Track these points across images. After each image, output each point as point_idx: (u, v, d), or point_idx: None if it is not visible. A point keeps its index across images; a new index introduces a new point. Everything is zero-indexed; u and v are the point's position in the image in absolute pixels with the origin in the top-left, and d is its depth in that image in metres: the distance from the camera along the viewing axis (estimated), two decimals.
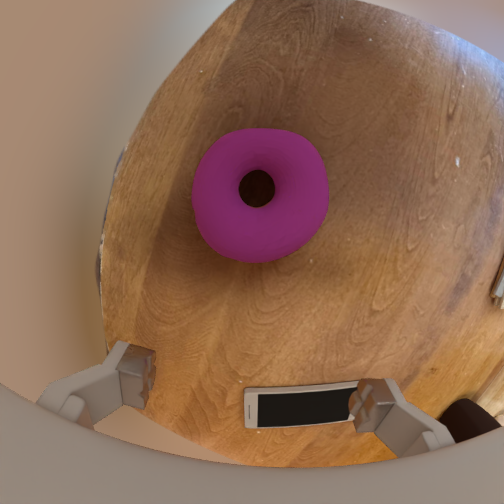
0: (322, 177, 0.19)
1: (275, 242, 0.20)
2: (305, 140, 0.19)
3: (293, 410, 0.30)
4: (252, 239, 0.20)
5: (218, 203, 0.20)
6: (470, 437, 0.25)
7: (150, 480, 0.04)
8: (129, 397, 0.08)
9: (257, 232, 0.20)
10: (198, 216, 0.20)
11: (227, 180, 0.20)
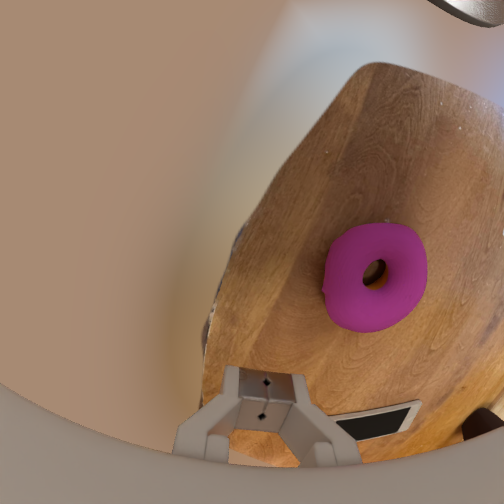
0: (426, 267, 0.22)
1: (389, 320, 0.23)
2: (416, 236, 0.22)
3: (359, 429, 0.33)
4: (374, 319, 0.23)
5: (352, 293, 0.22)
6: None
7: (150, 480, 0.04)
8: (243, 421, 0.08)
9: (378, 313, 0.23)
10: (332, 301, 0.23)
11: (360, 272, 0.22)
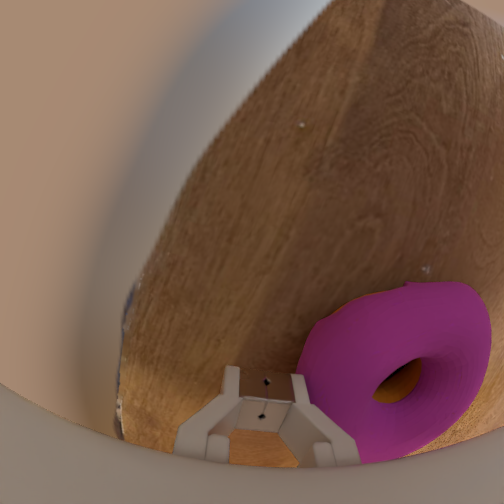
0: (488, 359, 0.09)
1: (410, 450, 0.10)
2: (483, 304, 0.09)
3: None
4: (383, 454, 0.10)
5: (348, 430, 0.09)
6: None
7: (150, 480, 0.04)
8: (244, 421, 0.08)
9: (392, 447, 0.10)
10: None
11: (367, 393, 0.09)
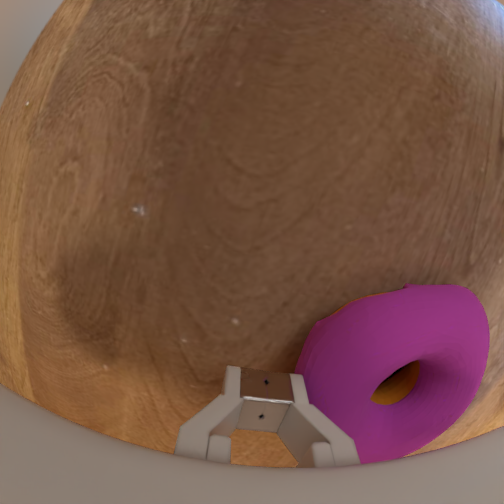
0: (485, 363, 0.09)
1: (407, 452, 0.10)
2: (482, 308, 0.09)
3: None
4: (380, 456, 0.10)
5: (345, 431, 0.09)
6: None
7: (150, 480, 0.04)
8: (245, 421, 0.08)
9: (389, 448, 0.10)
10: None
11: (365, 395, 0.09)
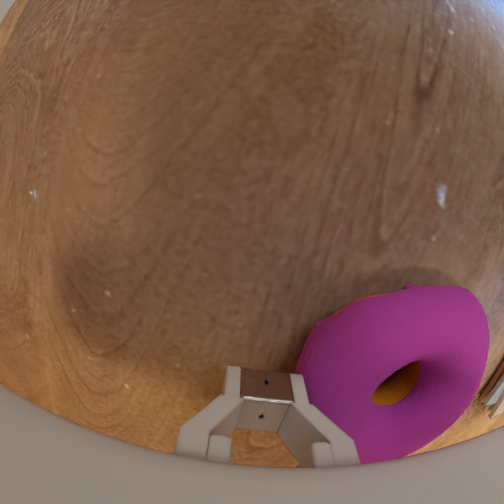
0: (485, 364, 0.09)
1: (406, 453, 0.10)
2: (482, 309, 0.09)
3: None
4: (379, 456, 0.10)
5: (345, 431, 0.09)
6: None
7: (150, 480, 0.04)
8: (245, 421, 0.08)
9: (388, 449, 0.10)
10: None
11: (366, 395, 0.09)
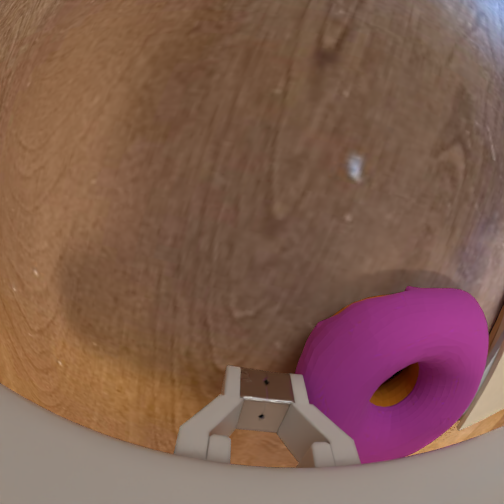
0: None
1: (404, 454, 0.10)
2: (482, 312, 0.09)
3: None
4: (377, 457, 0.10)
5: (345, 432, 0.09)
6: None
7: (150, 480, 0.04)
8: (245, 421, 0.08)
9: (387, 450, 0.10)
10: None
11: (366, 396, 0.09)
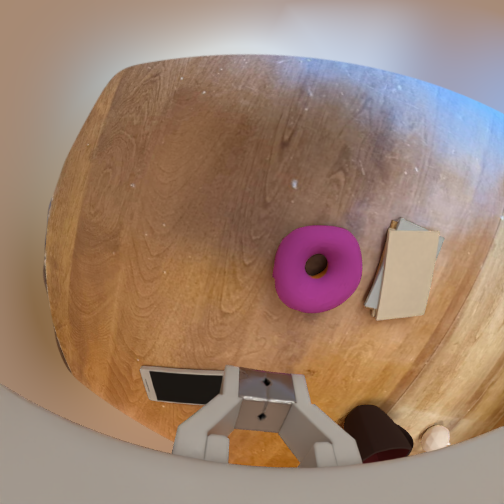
0: (359, 262, 0.30)
1: (327, 303, 0.31)
2: (351, 236, 0.30)
3: (179, 388, 0.39)
4: (313, 300, 0.31)
5: (294, 278, 0.30)
6: (359, 443, 0.33)
7: (150, 480, 0.04)
8: (243, 421, 0.08)
9: (317, 296, 0.31)
10: (279, 284, 0.31)
11: (300, 262, 0.30)
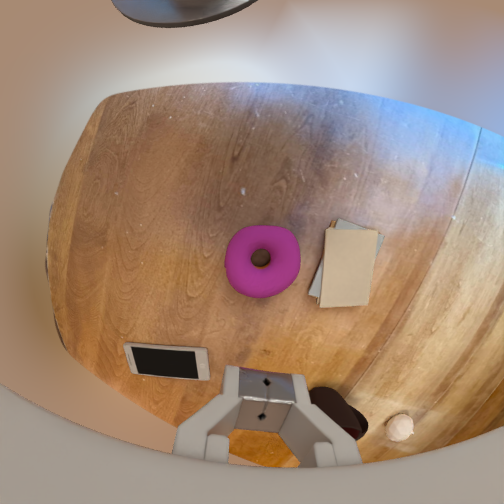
0: (296, 256, 0.38)
1: (269, 289, 0.38)
2: (289, 234, 0.38)
3: (155, 362, 0.46)
4: (257, 287, 0.38)
5: (240, 268, 0.38)
6: None
7: (150, 480, 0.04)
8: (243, 421, 0.08)
9: (260, 284, 0.38)
10: (228, 273, 0.38)
11: (245, 255, 0.38)
